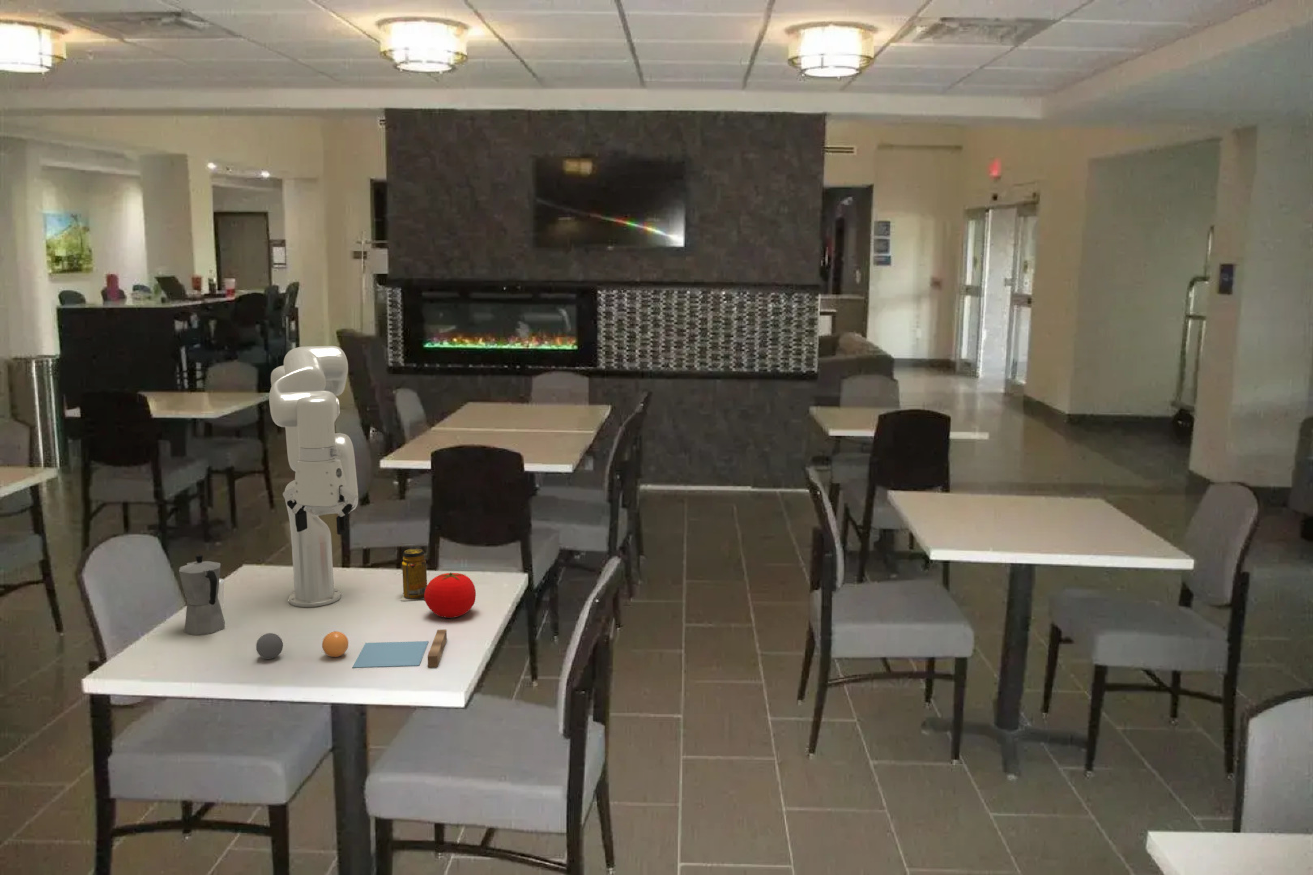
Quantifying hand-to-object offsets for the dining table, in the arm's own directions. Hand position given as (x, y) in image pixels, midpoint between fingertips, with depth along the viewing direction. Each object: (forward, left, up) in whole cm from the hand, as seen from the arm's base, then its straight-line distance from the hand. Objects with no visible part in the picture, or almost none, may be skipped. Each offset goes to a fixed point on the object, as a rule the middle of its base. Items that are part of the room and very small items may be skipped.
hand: (322, 531), depth 224 cm
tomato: (-23, +24, -28) cm, 43 cm away
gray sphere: (+2, -12, -25) cm, 28 cm away
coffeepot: (-17, -32, -28) cm, 46 cm away
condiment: (-38, +14, -28) cm, 49 cm away
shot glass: (-32, -36, -28) cm, 55 cm away
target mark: (+2, +14, -28) cm, 31 cm away
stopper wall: (+2, +24, -28) cm, 37 cm away
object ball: (+2, +2, -25) cm, 25 cm away
